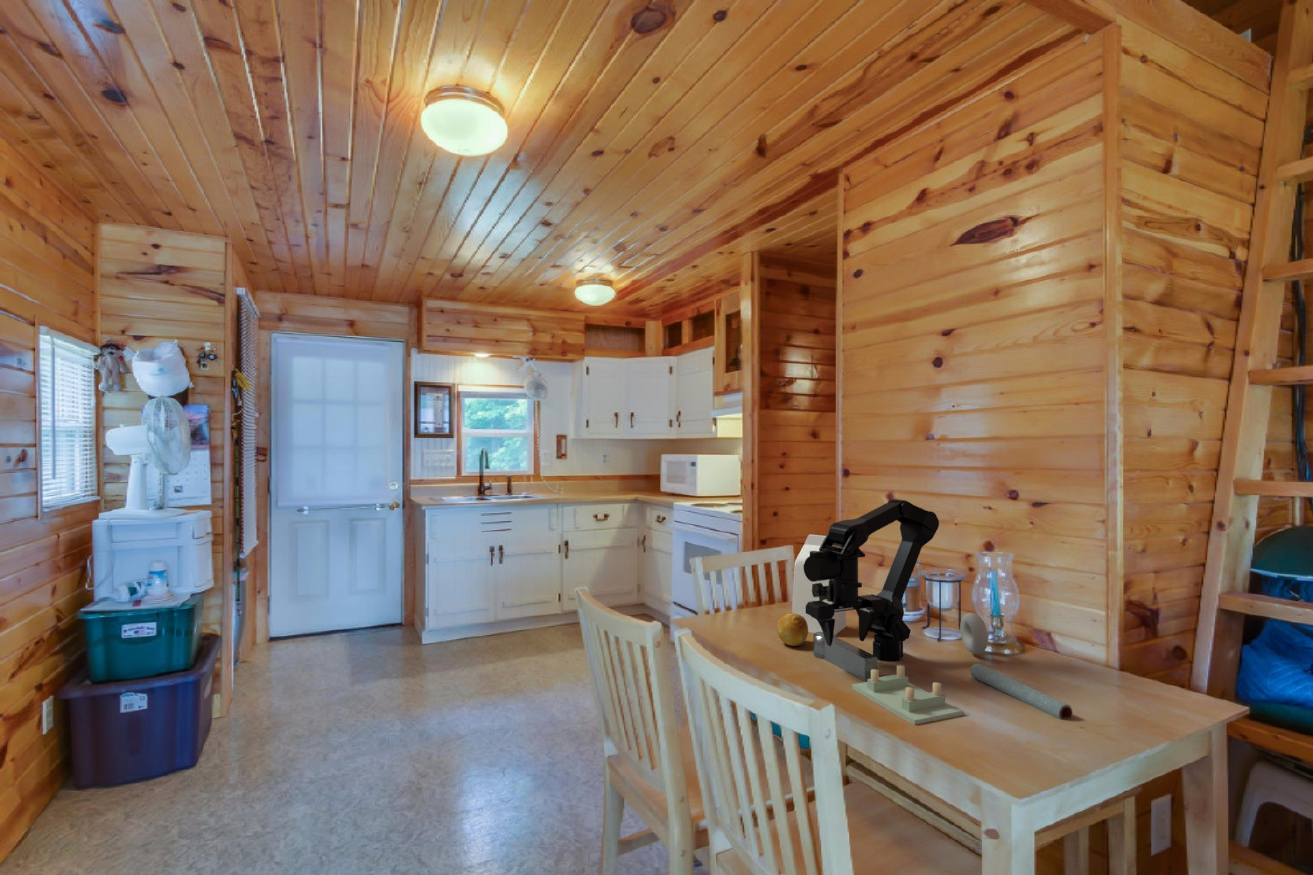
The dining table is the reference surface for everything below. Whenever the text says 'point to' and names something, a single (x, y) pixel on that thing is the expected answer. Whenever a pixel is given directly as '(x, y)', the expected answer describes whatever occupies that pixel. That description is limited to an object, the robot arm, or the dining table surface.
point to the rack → (907, 698)
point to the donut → (974, 633)
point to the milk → (804, 588)
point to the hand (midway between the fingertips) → (845, 643)
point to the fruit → (792, 629)
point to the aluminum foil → (1021, 691)
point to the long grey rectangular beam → (845, 656)
